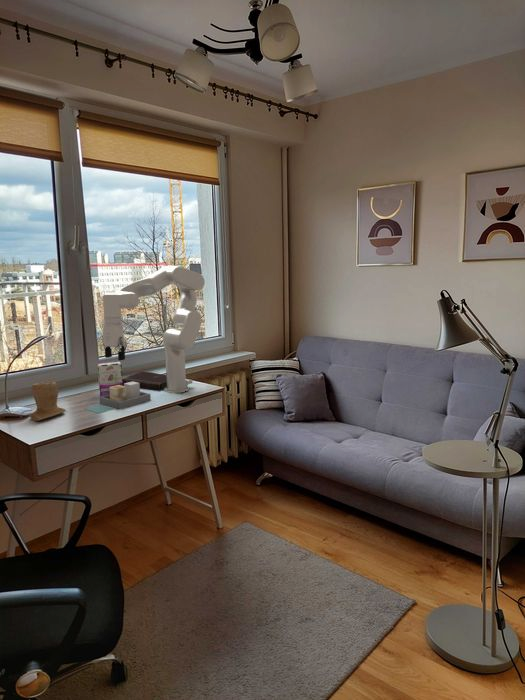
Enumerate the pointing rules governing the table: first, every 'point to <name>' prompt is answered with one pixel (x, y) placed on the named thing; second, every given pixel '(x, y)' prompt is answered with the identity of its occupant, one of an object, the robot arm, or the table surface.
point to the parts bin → (123, 404)
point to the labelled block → (117, 393)
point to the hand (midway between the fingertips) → (115, 358)
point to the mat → (99, 409)
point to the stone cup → (45, 401)
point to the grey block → (132, 390)
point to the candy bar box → (109, 376)
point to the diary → (148, 380)
